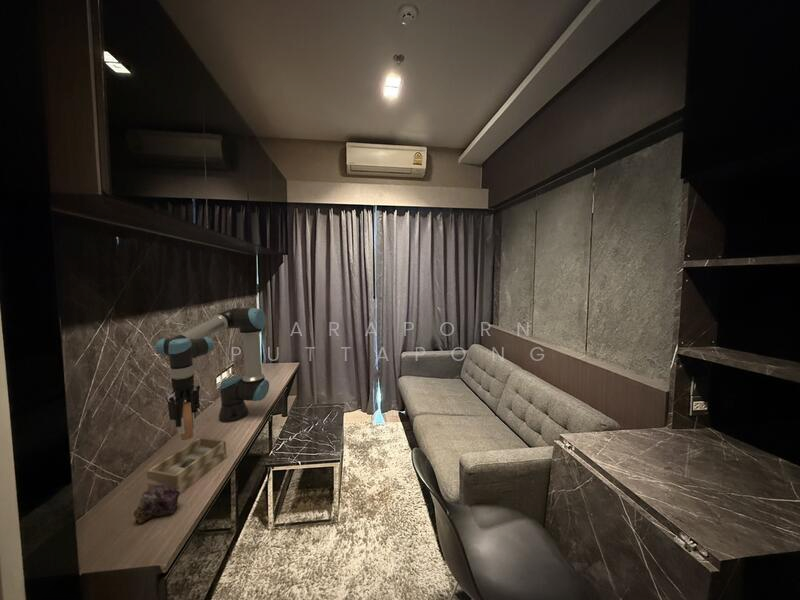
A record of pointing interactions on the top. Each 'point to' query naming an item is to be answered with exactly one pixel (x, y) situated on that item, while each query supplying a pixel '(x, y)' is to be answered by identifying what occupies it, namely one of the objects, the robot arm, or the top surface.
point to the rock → (157, 502)
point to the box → (188, 464)
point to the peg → (187, 421)
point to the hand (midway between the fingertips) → (186, 430)
